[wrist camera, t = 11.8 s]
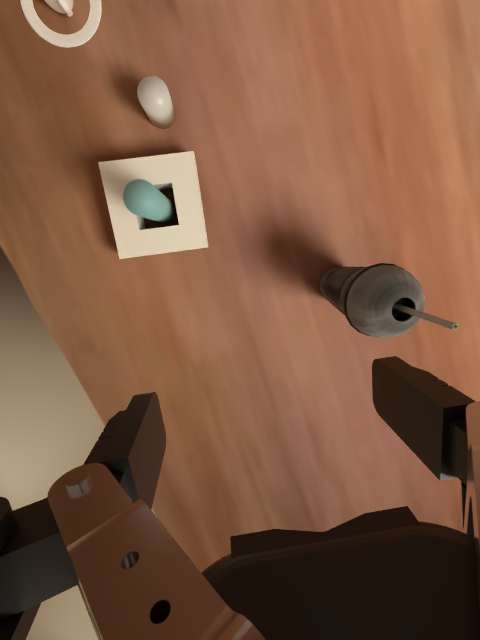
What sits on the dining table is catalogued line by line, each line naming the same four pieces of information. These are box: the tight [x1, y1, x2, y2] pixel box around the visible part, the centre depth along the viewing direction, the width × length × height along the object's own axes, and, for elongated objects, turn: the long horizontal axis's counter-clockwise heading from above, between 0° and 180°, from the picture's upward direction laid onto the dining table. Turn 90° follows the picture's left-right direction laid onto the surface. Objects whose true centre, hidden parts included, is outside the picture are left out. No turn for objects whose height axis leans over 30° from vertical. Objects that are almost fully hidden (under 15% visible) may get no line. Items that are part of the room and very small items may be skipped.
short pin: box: [137, 76, 175, 129], centre depth 33 cm, size 3×3×5 cm
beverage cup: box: [320, 263, 458, 338], centre depth 32 cm, size 7×7×20 cm
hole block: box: [98, 151, 208, 259], centre depth 36 cm, size 10×10×4 cm
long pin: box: [123, 179, 174, 223], centre depth 32 cm, size 3×3×11 cm
